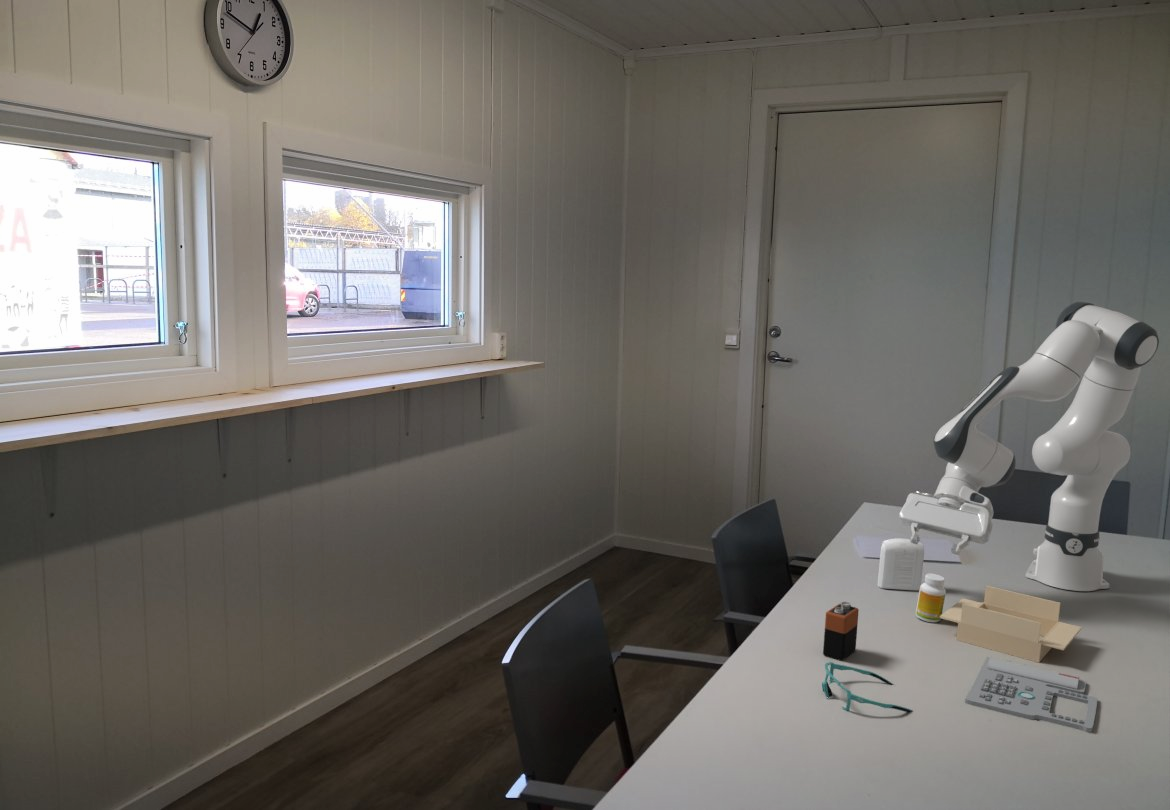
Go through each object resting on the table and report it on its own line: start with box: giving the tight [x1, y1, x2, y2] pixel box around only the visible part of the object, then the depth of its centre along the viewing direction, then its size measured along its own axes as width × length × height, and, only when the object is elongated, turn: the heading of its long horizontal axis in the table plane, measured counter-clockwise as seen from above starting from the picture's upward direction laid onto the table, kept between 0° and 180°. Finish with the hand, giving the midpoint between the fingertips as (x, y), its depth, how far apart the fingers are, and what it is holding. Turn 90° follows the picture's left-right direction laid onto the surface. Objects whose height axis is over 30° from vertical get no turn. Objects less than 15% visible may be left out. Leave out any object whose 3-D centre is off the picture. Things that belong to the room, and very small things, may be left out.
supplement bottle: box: [915, 573, 947, 623], centre depth 202 cm, size 5×5×10 cm
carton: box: [940, 585, 1083, 663], centre depth 191 cm, size 16×24×8 cm, turn 50°
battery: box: [822, 601, 860, 661], centre depth 182 cm, size 4×7×10 cm, turn 142°
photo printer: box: [877, 537, 925, 592], centre depth 222 cm, size 10×4×12 cm, turn 86°
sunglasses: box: [821, 661, 914, 713], centre depth 164 cm, size 14×15×5 cm
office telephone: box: [964, 656, 1098, 734], centre depth 167 cm, size 23×3×20 cm
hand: (933, 547), depth 209 cm, fingers open, 8 cm apart
